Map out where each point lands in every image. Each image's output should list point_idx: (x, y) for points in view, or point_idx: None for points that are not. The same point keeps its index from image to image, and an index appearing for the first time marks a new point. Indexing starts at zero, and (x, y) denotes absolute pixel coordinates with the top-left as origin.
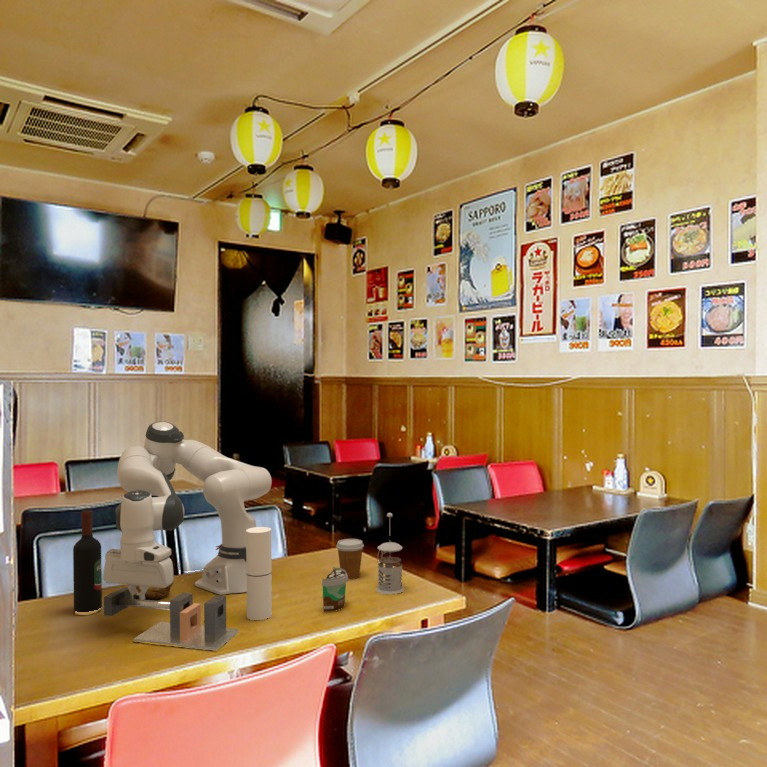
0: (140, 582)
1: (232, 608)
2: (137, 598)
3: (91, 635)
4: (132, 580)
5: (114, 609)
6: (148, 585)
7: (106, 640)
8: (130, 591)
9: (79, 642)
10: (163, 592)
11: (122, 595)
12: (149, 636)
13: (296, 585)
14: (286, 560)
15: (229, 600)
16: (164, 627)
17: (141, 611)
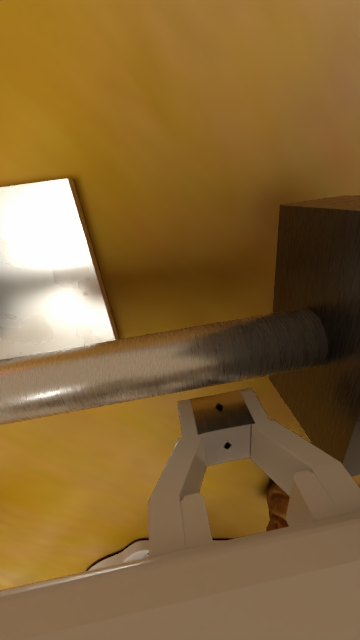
0: (171, 632)
1: (28, 516)
2: (209, 408)
3: (335, 177)
4: (345, 629)
5: (298, 245)
6: (30, 605)
7: (226, 151)
8: (295, 441)
9: (351, 65)
10: (274, 500)
11: (336, 378)
12: (16, 239)
13: None
14: None
15: (88, 534)
16: (53, 343)
17: (274, 412)
